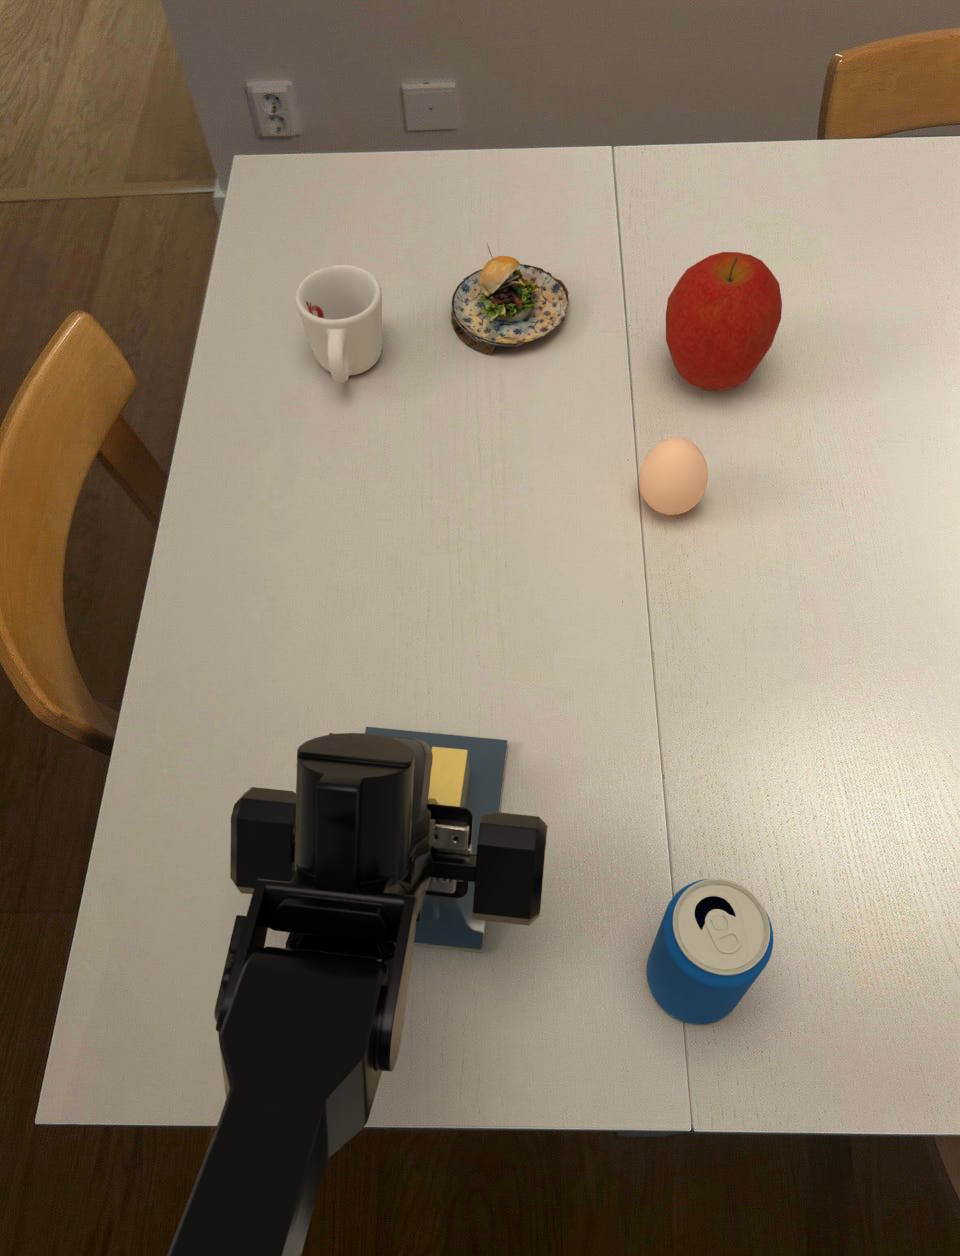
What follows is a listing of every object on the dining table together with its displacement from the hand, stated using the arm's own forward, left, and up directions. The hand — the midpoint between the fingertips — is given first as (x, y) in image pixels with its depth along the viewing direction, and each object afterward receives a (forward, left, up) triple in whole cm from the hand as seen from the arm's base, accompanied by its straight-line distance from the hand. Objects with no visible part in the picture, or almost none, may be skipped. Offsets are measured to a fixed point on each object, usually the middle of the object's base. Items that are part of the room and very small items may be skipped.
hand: (412, 802), depth 72 cm
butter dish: (0, 0, -7) cm, 7 cm away
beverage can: (+10, -19, -7) cm, 23 cm away
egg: (+34, +14, -7) cm, 38 cm away
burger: (+36, +42, -7) cm, 56 cm away
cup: (+19, +45, -7) cm, 50 cm away
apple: (+47, +24, -7) cm, 54 cm away
